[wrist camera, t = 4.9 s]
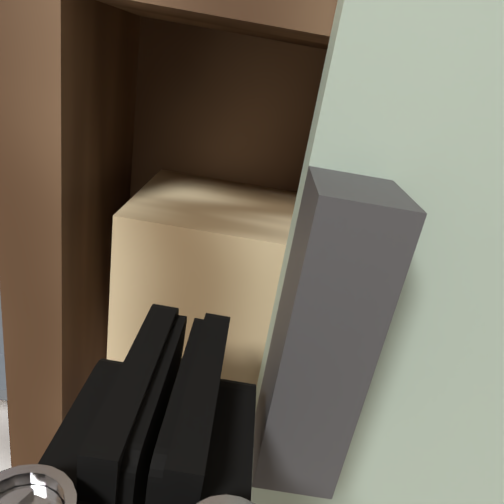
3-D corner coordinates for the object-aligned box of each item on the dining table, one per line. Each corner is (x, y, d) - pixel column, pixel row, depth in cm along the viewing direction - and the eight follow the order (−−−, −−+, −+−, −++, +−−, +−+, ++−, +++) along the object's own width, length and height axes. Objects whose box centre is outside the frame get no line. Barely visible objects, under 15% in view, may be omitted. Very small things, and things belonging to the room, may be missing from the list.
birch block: (306, 194, 15) (321, 251, 11) (279, 318, 17) (281, 412, 13) (161, 169, 15) (113, 215, 11) (150, 297, 17) (105, 383, 13)
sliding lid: (818, 28, 8) (1106, 10, 5) (519, 531, 13) (584, 654, 10) (350, -59, 8) (392, -126, 5) (235, 488, 13) (225, 602, 10)
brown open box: (610, 48, 14) (860, 37, 8) (450, 414, 20) (527, 565, 14) (103, -44, 14) (-28, -128, 8) (92, 357, 20) (12, 486, 14)
